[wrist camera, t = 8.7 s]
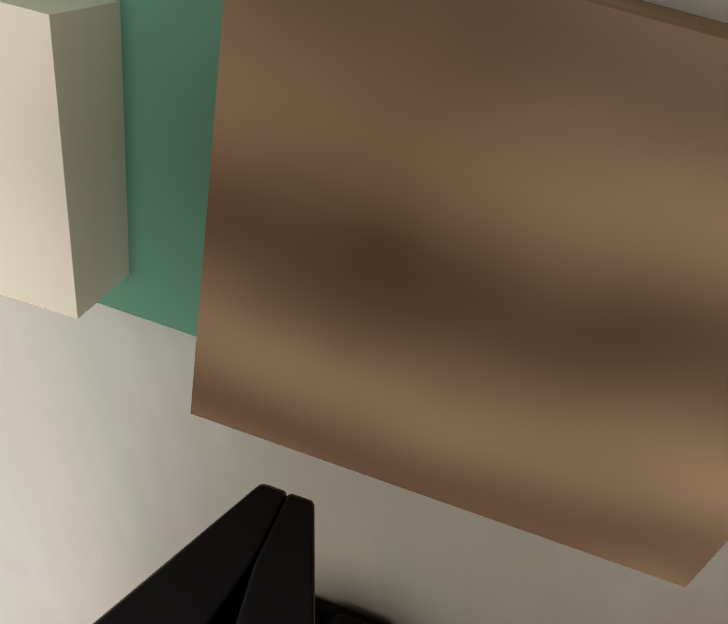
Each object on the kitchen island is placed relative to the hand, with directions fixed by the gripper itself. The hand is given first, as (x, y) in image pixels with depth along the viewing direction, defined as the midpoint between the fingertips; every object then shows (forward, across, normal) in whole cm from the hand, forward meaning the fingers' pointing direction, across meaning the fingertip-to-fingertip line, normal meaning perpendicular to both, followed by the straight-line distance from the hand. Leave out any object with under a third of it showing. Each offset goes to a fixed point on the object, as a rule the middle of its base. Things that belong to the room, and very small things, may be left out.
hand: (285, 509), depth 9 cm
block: (+8, +12, +1) cm, 15 cm away
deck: (+12, -3, 0) cm, 12 cm away
